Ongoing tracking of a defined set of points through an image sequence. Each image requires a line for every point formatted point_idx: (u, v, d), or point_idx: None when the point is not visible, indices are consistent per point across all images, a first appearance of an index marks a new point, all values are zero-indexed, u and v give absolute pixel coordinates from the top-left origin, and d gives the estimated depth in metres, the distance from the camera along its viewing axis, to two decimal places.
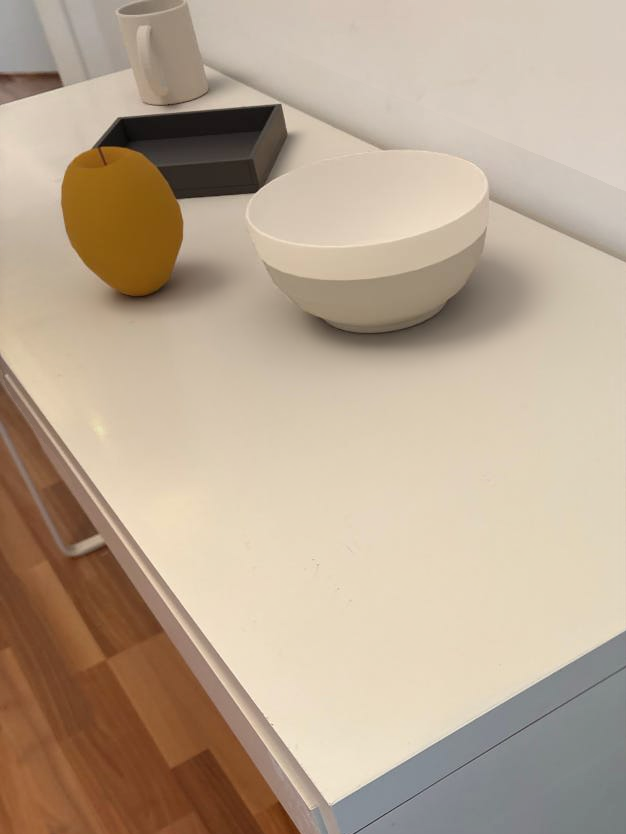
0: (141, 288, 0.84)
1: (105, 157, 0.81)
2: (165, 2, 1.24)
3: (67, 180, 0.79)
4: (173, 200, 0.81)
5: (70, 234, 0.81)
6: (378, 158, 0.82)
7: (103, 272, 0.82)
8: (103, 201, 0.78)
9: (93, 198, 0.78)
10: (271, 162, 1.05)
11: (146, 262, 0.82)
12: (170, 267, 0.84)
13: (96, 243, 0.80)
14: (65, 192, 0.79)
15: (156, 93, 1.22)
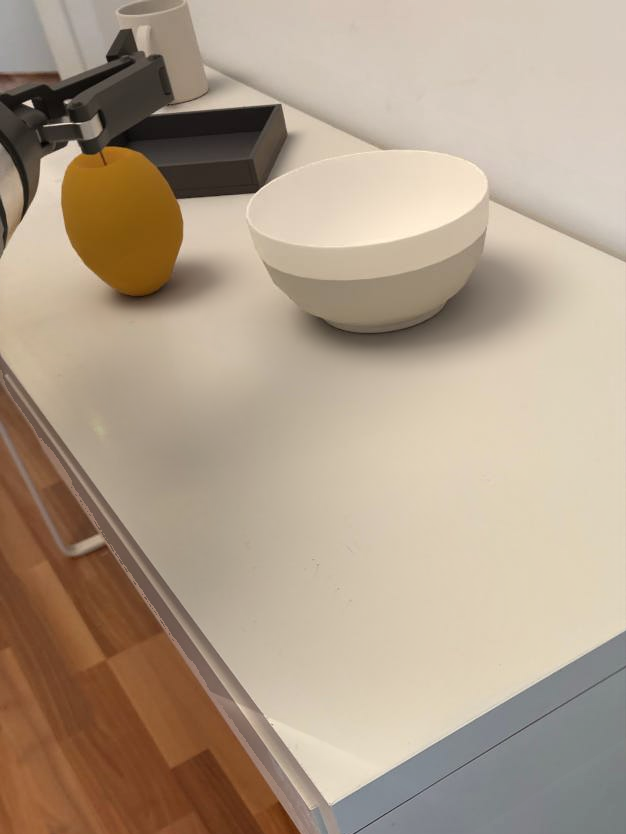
0: (141, 288, 0.84)
1: (105, 157, 0.81)
2: (165, 2, 1.24)
3: (67, 180, 0.79)
4: (173, 200, 0.81)
5: (70, 234, 0.81)
6: (378, 158, 0.82)
7: (103, 272, 0.82)
8: (103, 201, 0.78)
9: (93, 198, 0.78)
10: (271, 162, 1.05)
11: (146, 262, 0.82)
12: (170, 267, 0.84)
13: (96, 243, 0.80)
14: (65, 192, 0.79)
15: None
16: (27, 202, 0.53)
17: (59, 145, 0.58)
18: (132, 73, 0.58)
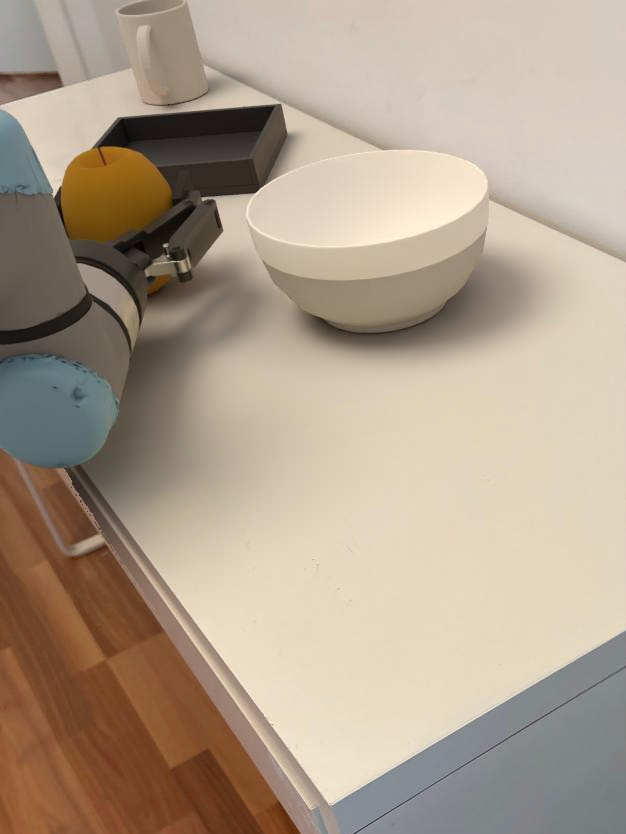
0: None
1: (105, 157, 0.81)
2: (165, 2, 1.24)
3: (67, 180, 0.79)
4: None
5: (70, 234, 0.81)
6: (378, 158, 0.82)
7: None
8: (103, 201, 0.78)
9: (93, 198, 0.78)
10: (271, 162, 1.05)
11: None
12: None
13: None
14: (65, 192, 0.79)
15: (156, 93, 1.22)
16: (139, 326, 0.72)
17: None
18: (201, 217, 0.77)
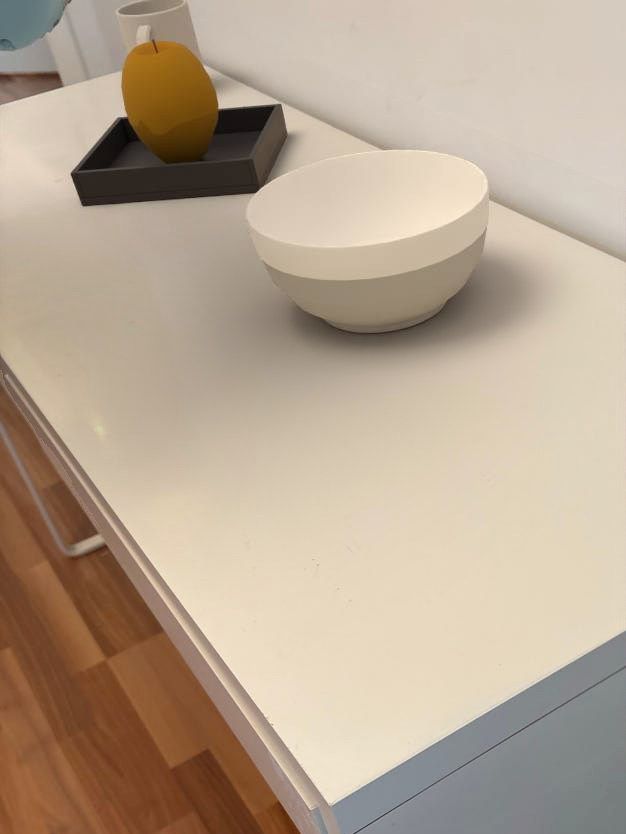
0: (184, 159, 1.04)
1: (157, 49, 1.01)
2: (165, 2, 1.24)
3: (127, 65, 0.99)
4: (211, 84, 1.01)
5: (129, 110, 1.01)
6: (378, 158, 0.82)
7: (155, 143, 1.02)
8: (157, 81, 0.98)
9: (149, 78, 0.98)
10: (271, 162, 1.05)
11: (189, 134, 1.02)
12: (207, 141, 1.04)
13: (150, 116, 1.00)
14: (126, 75, 0.99)
15: None
16: None
17: None
18: None
